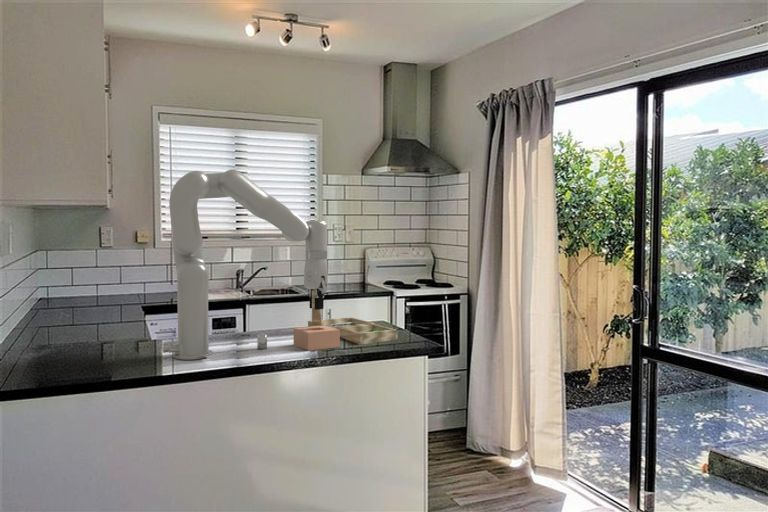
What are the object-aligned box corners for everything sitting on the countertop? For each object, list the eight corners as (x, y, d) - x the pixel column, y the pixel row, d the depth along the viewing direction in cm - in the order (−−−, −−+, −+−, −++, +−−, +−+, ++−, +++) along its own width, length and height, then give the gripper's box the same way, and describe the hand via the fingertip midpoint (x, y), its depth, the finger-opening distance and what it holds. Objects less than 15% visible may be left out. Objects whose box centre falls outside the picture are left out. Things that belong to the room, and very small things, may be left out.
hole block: (308, 350, 202) (308, 332, 202) (293, 345, 212) (293, 328, 212) (339, 347, 208) (339, 329, 208) (324, 341, 218) (324, 325, 218)
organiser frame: (354, 345, 211) (354, 334, 211) (308, 330, 243) (307, 321, 243) (401, 340, 222) (401, 329, 222) (351, 326, 254) (351, 317, 254)
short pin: (259, 350, 202) (259, 335, 202) (256, 348, 205) (255, 334, 205) (268, 349, 204) (268, 334, 204) (264, 347, 207) (264, 333, 207)
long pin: (314, 325, 208) (314, 290, 207) (310, 324, 210) (310, 290, 210) (322, 324, 209) (322, 290, 209) (318, 323, 212) (318, 289, 212)
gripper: (296, 255, 214) (296, 307, 214) (317, 257, 200) (317, 312, 201) (315, 255, 218) (315, 305, 219) (337, 256, 204) (337, 310, 205)
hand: (316, 308), depth 210 cm, fingers closed on long pin, 3 cm apart
